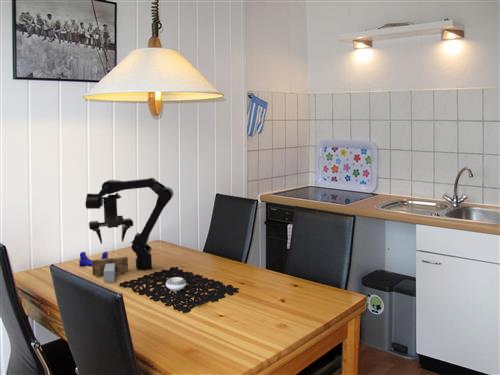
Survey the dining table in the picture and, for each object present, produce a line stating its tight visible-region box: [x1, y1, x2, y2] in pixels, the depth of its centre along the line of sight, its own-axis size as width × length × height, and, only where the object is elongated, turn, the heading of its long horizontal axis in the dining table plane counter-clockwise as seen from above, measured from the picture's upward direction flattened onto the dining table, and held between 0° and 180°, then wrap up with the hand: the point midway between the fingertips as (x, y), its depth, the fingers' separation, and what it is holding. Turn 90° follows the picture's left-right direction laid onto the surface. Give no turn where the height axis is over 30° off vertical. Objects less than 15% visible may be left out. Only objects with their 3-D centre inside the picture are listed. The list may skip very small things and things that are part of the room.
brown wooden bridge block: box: [91, 256, 129, 278], centre depth 225 cm, size 15×6×6 cm, turn 109°
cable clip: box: [78, 251, 109, 268], centre depth 239 cm, size 12×4×6 cm, turn 89°
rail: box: [103, 263, 117, 284], centre depth 218 cm, size 4×12×5 cm, turn 12°
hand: (112, 242), depth 231 cm, fingers open, 9 cm apart
